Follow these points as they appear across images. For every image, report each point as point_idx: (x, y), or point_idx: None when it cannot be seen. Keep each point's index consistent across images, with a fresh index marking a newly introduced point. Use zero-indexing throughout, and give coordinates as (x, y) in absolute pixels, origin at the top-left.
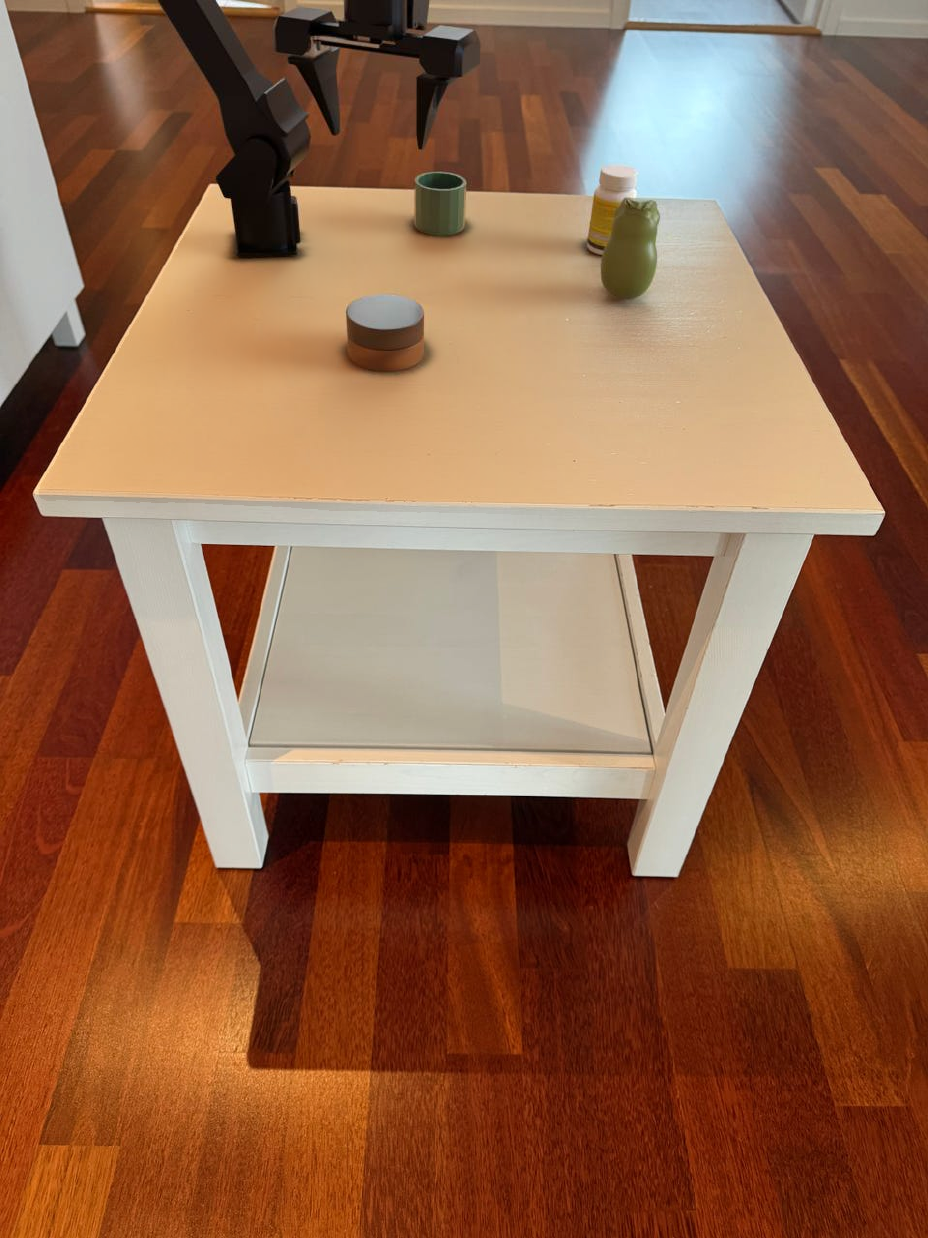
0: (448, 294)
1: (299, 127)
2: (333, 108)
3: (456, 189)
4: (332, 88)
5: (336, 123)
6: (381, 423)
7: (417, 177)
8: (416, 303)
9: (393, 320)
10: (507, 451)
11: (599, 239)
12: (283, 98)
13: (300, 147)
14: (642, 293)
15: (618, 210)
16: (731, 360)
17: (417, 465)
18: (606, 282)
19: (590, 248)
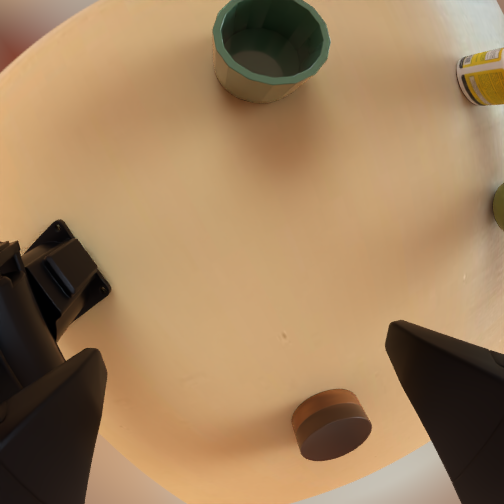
0: (356, 290)
1: (4, 348)
2: (82, 429)
3: (323, 63)
4: (46, 462)
5: (96, 389)
6: (345, 457)
7: (217, 36)
8: (362, 419)
9: (348, 445)
10: (414, 433)
11: (483, 101)
12: None
13: (43, 356)
14: None
15: None
16: None
17: (370, 463)
18: (502, 229)
19: (465, 94)
